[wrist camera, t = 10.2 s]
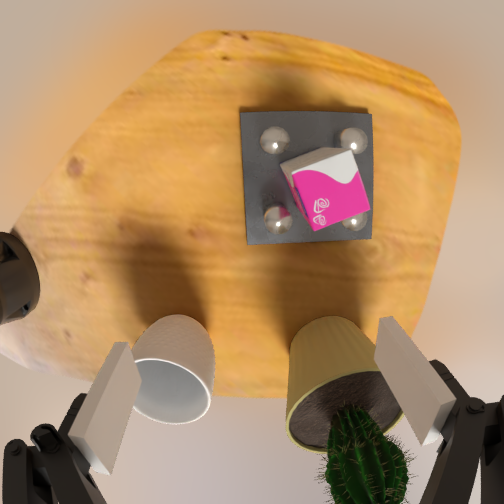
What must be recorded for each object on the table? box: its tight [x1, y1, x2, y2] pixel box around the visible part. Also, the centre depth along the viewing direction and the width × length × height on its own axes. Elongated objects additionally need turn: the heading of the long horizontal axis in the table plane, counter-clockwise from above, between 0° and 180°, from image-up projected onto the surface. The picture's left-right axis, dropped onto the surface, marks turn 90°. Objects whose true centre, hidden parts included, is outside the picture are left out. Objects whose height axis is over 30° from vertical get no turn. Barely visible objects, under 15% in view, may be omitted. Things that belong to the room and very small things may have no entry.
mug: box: [131, 314, 215, 424], centre depth 38 cm, size 15×11×13 cm
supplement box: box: [280, 147, 370, 231], centre depth 30 cm, size 6×6×12 cm
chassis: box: [240, 111, 373, 245], centre depth 35 cm, size 16×16×4 cm
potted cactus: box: [286, 316, 413, 504], centre depth 30 cm, size 15×15×30 cm
